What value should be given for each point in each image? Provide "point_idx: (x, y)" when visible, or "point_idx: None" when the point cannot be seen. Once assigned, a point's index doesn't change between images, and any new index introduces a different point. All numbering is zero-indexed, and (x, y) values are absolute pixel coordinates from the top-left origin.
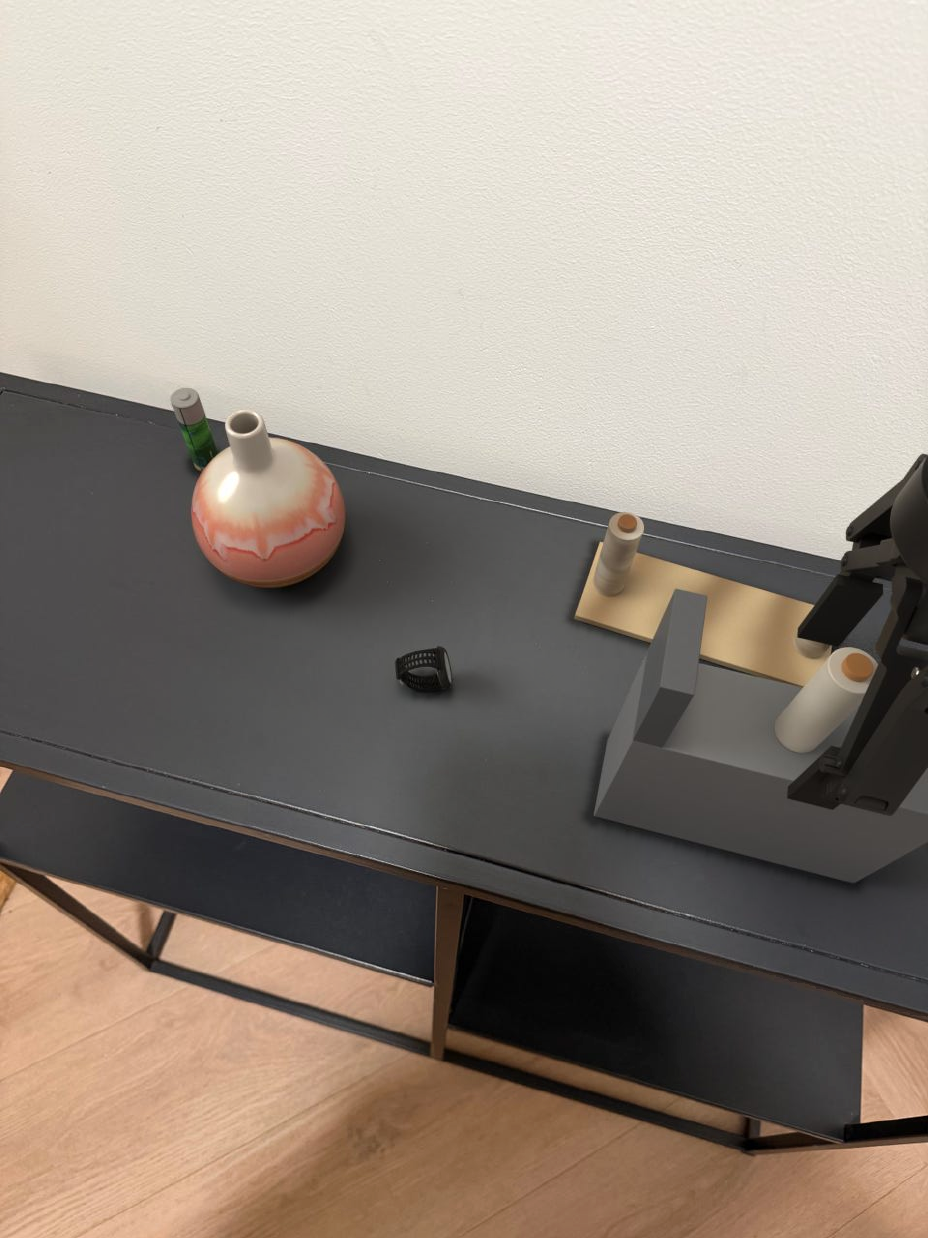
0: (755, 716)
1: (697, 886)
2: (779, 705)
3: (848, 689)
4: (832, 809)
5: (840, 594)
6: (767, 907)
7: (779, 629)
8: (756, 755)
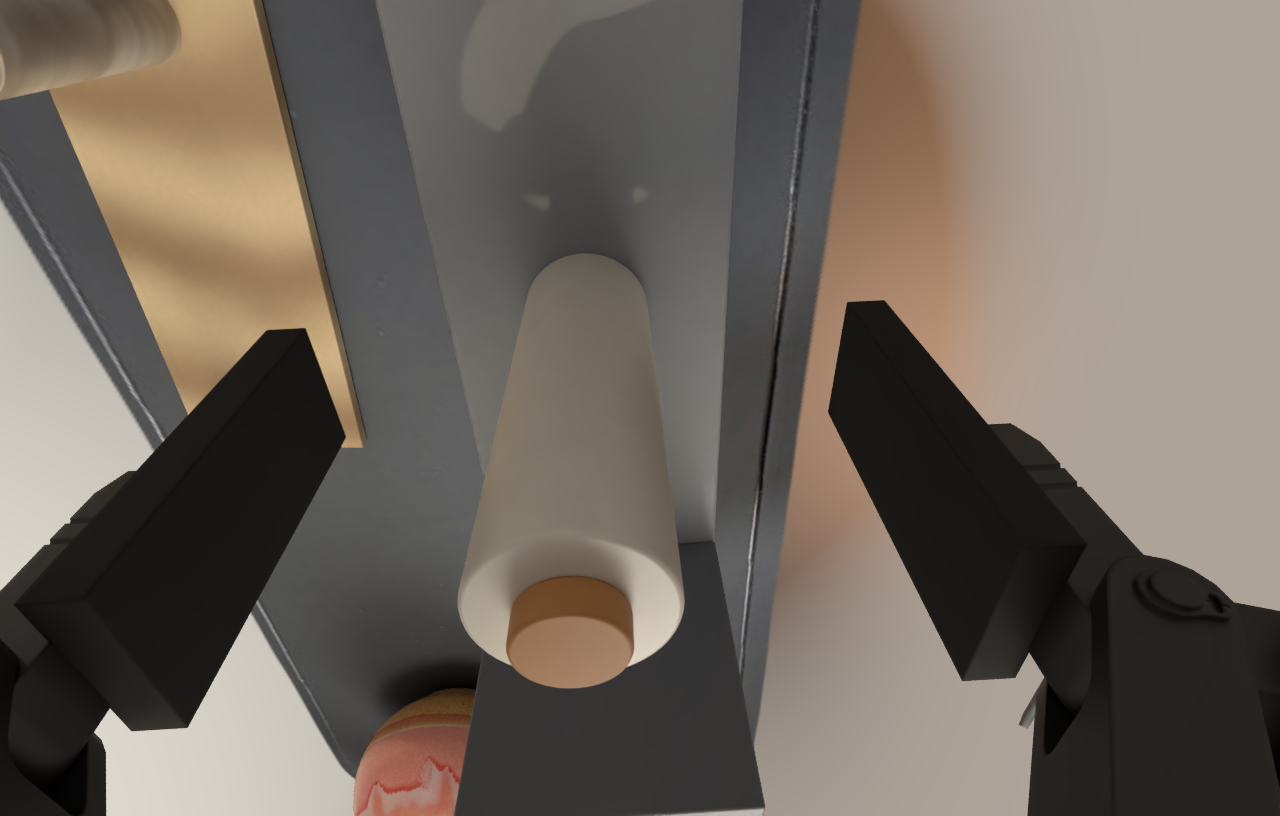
0: None
1: (743, 181)
2: None
3: (675, 622)
4: (883, 302)
5: (203, 642)
6: (756, 47)
7: (149, 100)
8: (682, 389)
